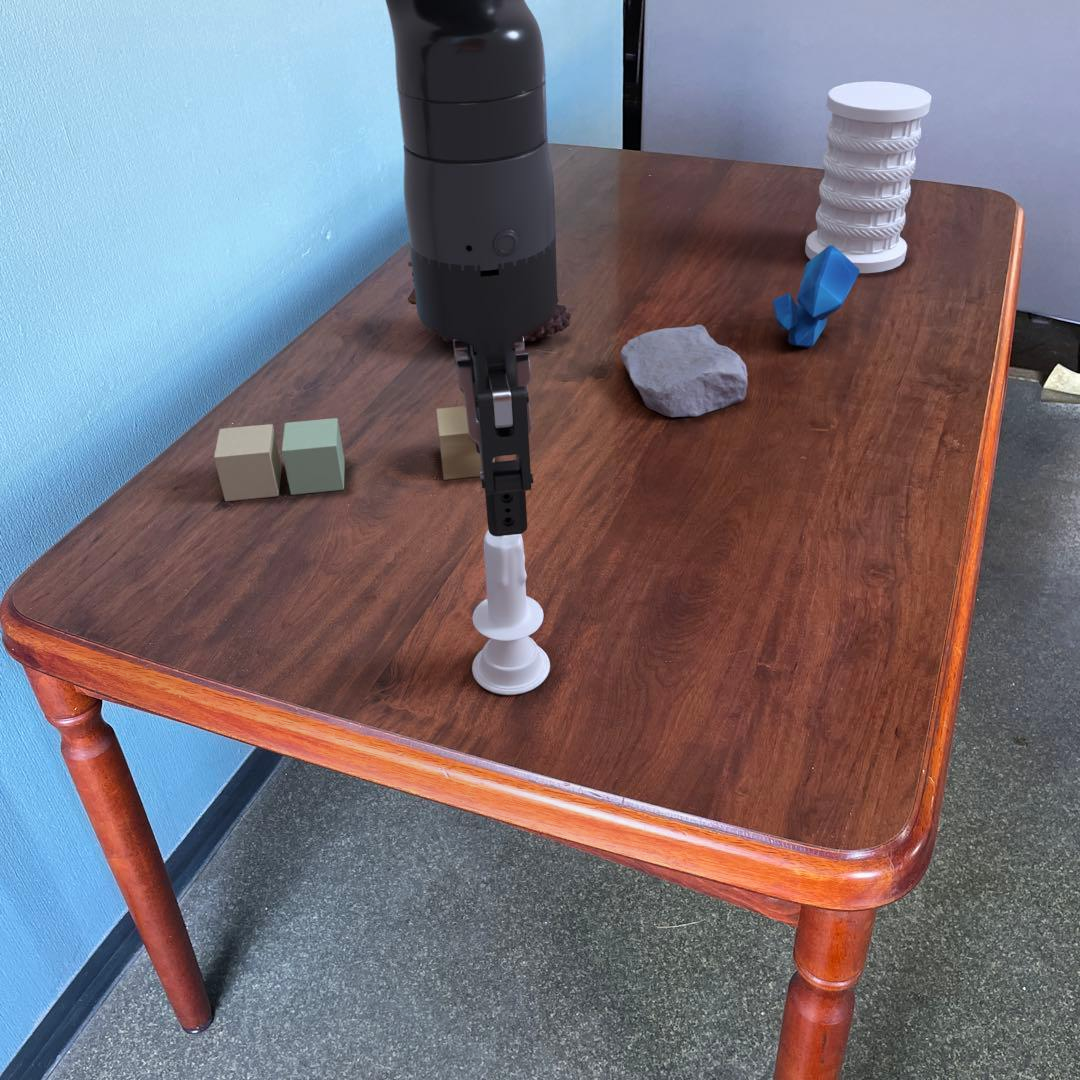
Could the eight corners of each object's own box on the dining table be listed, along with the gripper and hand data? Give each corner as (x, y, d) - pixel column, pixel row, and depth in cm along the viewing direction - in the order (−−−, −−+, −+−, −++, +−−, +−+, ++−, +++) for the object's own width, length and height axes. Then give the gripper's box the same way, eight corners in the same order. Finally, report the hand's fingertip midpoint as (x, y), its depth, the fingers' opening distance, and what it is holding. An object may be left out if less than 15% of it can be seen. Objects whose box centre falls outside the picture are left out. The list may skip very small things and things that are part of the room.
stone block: (663, 440, 99) (758, 399, 101) (655, 397, 96) (752, 355, 98) (611, 386, 108) (698, 349, 110) (601, 345, 105) (691, 307, 107)
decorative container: (786, 256, 127) (804, 98, 116) (836, 227, 134) (858, 74, 123) (875, 282, 121) (903, 117, 110) (923, 249, 128) (954, 91, 117)
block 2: (290, 495, 91) (281, 450, 88) (293, 466, 95) (284, 422, 92) (344, 490, 92) (336, 445, 89) (344, 461, 95) (337, 417, 92)
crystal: (764, 293, 104) (795, 222, 111) (761, 361, 111) (790, 291, 117) (841, 304, 101) (868, 231, 108) (833, 374, 108) (860, 301, 115)
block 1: (225, 501, 91) (213, 457, 88) (230, 472, 94) (219, 428, 92) (278, 496, 91) (269, 451, 88) (282, 467, 95) (272, 423, 92)
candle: (512, 630, 77) (504, 493, 70) (566, 667, 74) (563, 528, 66) (456, 668, 74) (441, 530, 67) (509, 708, 71) (499, 567, 64)
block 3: (443, 480, 92) (438, 435, 90) (440, 452, 96) (436, 408, 93) (495, 475, 93) (492, 430, 90) (490, 447, 96) (487, 403, 94)
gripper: (404, 187, 60) (432, 433, 70) (413, 295, 49) (445, 570, 59) (536, 176, 61) (546, 422, 71) (576, 280, 50) (580, 555, 59)
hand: (500, 489), depth 65 cm, fingers open, 8 cm apart
